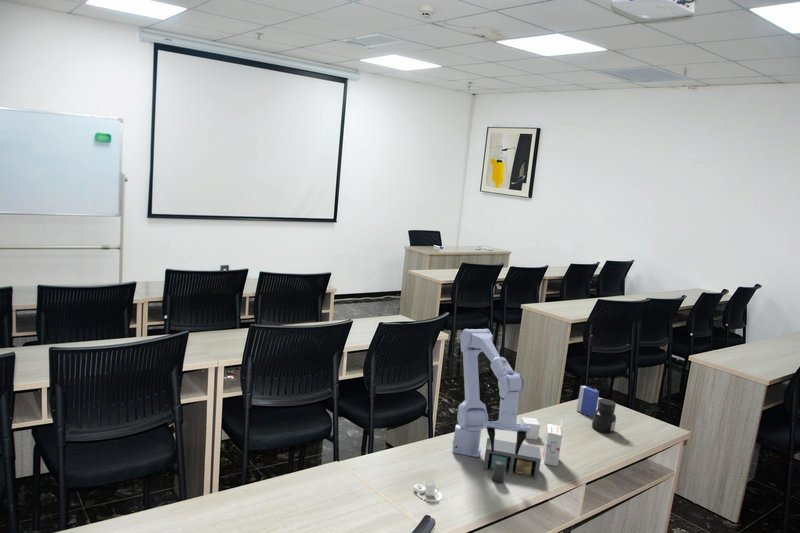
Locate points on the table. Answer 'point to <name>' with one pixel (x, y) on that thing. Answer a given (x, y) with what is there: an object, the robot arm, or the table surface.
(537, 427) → the white cube
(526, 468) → the ochre block
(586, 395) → the walkman
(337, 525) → the table surface
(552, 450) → the ink cartridge box
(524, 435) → the robot arm
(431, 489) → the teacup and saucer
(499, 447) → the cubby shelf
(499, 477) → the block
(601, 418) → the ink bottle
